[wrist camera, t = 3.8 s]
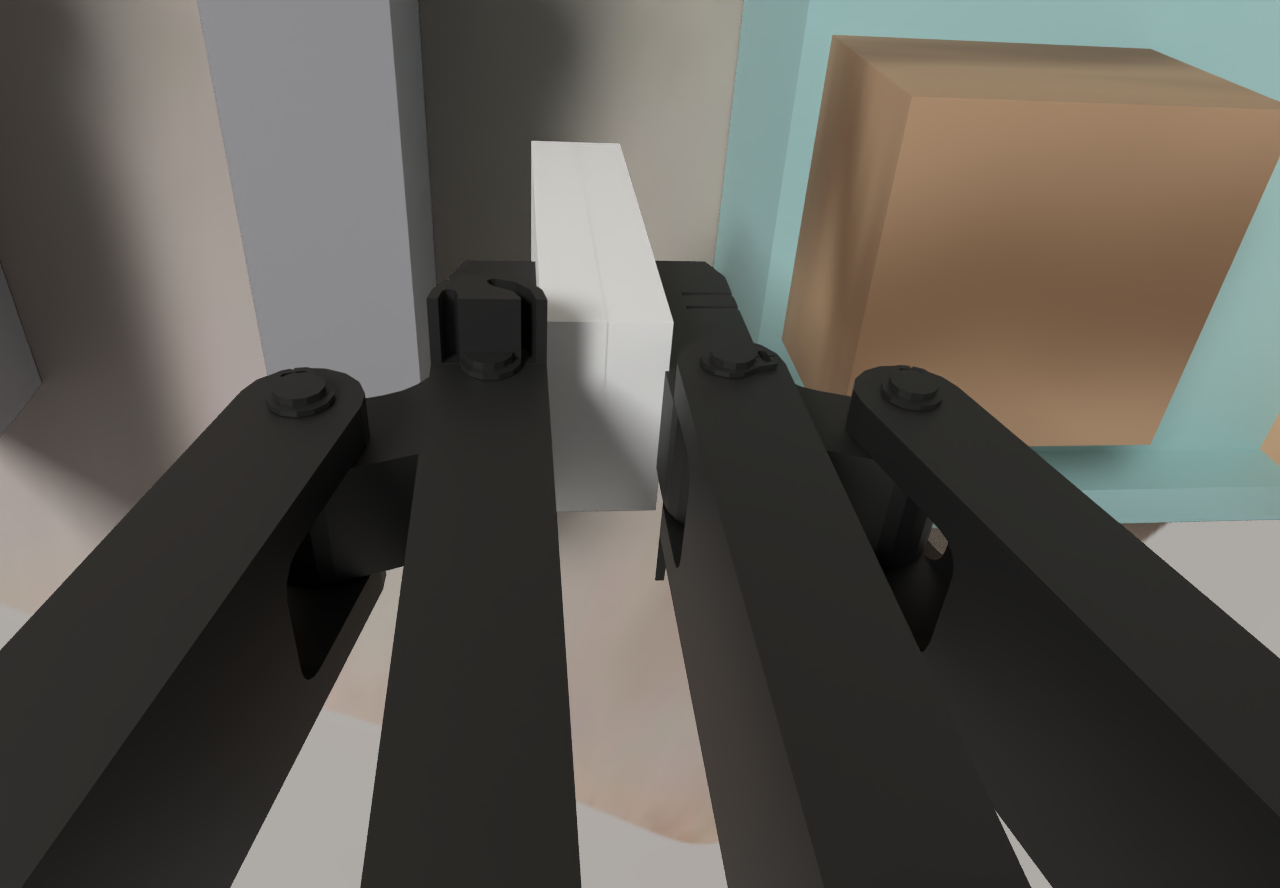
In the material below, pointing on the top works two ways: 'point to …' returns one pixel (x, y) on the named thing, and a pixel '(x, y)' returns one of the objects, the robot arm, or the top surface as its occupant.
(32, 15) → the top surface
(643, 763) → the top surface
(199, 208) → the top surface
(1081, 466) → the gap walkway
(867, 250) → the walnut block
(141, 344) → the top surface
